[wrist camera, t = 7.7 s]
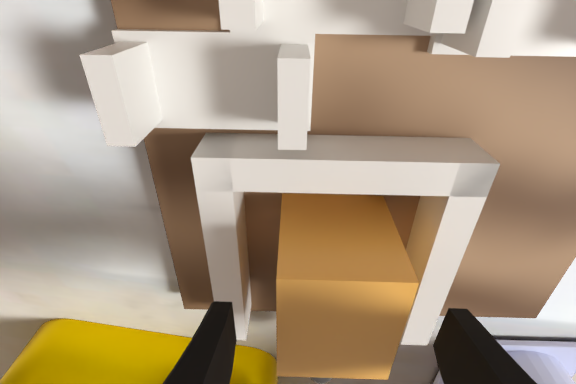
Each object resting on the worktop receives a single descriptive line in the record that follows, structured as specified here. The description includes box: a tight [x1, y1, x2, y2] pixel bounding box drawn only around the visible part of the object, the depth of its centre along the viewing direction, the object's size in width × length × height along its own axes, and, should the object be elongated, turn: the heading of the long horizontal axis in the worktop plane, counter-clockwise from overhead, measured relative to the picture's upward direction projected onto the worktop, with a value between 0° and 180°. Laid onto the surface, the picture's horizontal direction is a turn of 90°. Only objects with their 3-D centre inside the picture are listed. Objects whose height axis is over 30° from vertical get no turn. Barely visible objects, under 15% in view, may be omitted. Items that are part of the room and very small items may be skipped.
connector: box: [276, 193, 419, 384], centre depth 14 cm, size 9×4×4 cm, turn 179°
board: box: [111, 0, 576, 318], centre depth 13 cm, size 16×18×1 cm
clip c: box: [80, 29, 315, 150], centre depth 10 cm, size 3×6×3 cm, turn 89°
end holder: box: [191, 133, 500, 345], centre depth 13 cm, size 9×9×2 cm
